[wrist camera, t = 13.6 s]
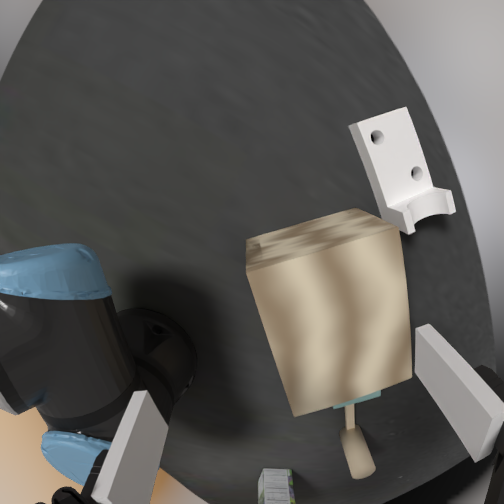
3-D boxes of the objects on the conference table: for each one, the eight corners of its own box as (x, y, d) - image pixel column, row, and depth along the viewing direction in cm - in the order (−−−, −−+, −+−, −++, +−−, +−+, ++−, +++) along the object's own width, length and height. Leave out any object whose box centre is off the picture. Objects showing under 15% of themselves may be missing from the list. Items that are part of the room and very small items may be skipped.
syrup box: (284, 482, 53) (290, 538, 39) (256, 481, 53) (258, 538, 39) (291, 468, 52) (299, 527, 38) (261, 467, 51) (265, 528, 37)
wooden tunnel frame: (283, 358, 44) (294, 416, 32) (246, 239, 39) (246, 272, 28) (377, 328, 43) (411, 377, 31) (355, 207, 38) (398, 227, 27)
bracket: (424, 202, 39) (455, 211, 31) (382, 221, 39) (408, 234, 32) (393, 110, 35) (422, 102, 28) (347, 126, 36) (369, 118, 29)
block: (331, 442, 50) (342, 483, 40) (320, 347, 44) (337, 391, 34) (367, 432, 49) (383, 471, 40) (366, 335, 43) (392, 375, 34)
